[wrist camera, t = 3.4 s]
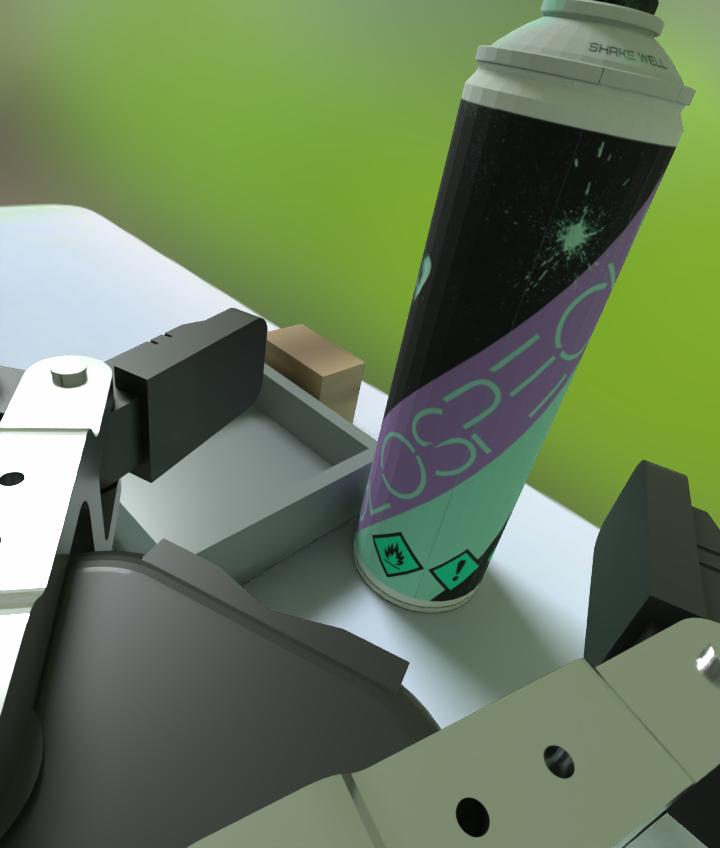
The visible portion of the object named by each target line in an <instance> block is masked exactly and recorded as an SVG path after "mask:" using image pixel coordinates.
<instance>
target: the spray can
mask: <svg viewBox="0 0 720 848" xmlns="http://www.w3.org/2000/svg"><path fill="white" fill-rule="evenodd" d="M658 4H659V3H658V0H544V1H543V4H542V7H541V12H540V13H541V14H542V15H543V16H544V17H542V18H539V19H537V20H534V21H532V22H530V23H528V24H526V25H524V26H522V27H520V28H518V29H516V30H514V31H512V32H511V33H509V34H508V35H506V36H504V37H503V38H501V39H499V40H498V41H496V42H495V43H494V44H493V45H491V46H486V45H483V46H479V47H478V50H477V55H476V58H475V60H476V61H478V69H477V71H476V72H475V73H474V74H473V75H472V76H471V77H470V78H469V79H468V80H467V81H466V82H465V85H464V90H463V94H462V98H461V102H460V106H459V110H458V114H457V118H456V122H455V127H454V131H453V135H452V139H451V143H450V147H449V151H448V155H447V159H446V163H445V167H444V172H443V176H442V180H441V184H440V188H439V192H438V196H437V200H436V204H435V208H434V213H433V217H432V221H431V225H430V229H429V233H428V237H427V241H426V246H425V249H424V254H423V258H422V262H421V266H420V270H419V274H418V278H417V282H416V287H415V290H414V295H413V299H412V303H411V307H410V311H409V315H408V319H407V323H406V327H405V332H404V336H403V340H402V344H401V348H400V353H399V357H398V361H397V364H396V368H395V373H394V377H393V381H392V385H391V389H390V393H389V397H388V401H387V405H386V409H385V414H384V418H383V422H382V426H381V430H380V434H379V438H378V442H377V446H376V450H375V455H374V459H373V463H372V467H371V471H370V475H369V479H368V483H367V487H366V491H365V496H364V500H363V504H362V508H361V512H360V516H359V520H358V524H357V528H356V533H355V539H354V545H353V556H354V562H355V564H356V567H357V569H358V572H359V573H360V575H361V576H362V578H363V579H364V581H365V582H366V583H367V584H368V585H369V586H370V587H371V588H372V589H373V590H374V591H375V592H376V593H378V594H379V595H380V596H382V597H383V598H384V599H386V600H388V601H390V602H392V603H393V604H395V605H398V606H400V607H403V608H406V609H409V610H413V611H419V612H427V613H438V612H444V611H450V610H452V609H455V608H457V607H460V606H461V605H463V604H464V603H466V602H467V601H468V600H469V599H470V598H471V597H472V596H473V594H474V593H475V592H476V590H477V587H478V586H479V584H480V582H481V580H482V578H483V575H484V573H485V571H486V569H487V567H488V564H489V562H490V560H491V558H492V555H493V553H494V551H495V549H496V547H497V544H498V542H499V540H500V538H501V535H502V533H503V531H504V529H505V527H506V524H507V522H508V520H509V518H510V515H511V513H512V511H513V509H514V507H515V504H516V502H517V500H518V498H519V495H520V493H521V491H522V489H523V487H524V484H525V482H526V480H527V477H528V475H529V473H530V471H531V469H532V466H533V464H534V462H535V460H536V457H537V455H538V453H539V451H540V449H541V446H542V444H543V442H544V440H545V438H546V435H547V433H548V431H549V429H550V426H551V424H552V422H553V420H554V417H555V415H556V413H557V411H558V409H559V406H560V404H561V402H562V400H563V398H564V395H565V393H566V391H567V389H568V386H569V384H570V382H571V380H572V378H573V375H574V373H575V371H576V369H577V366H578V364H579V362H580V360H581V358H582V355H583V353H584V351H585V349H586V346H587V344H588V342H589V340H590V338H591V335H592V333H593V331H594V329H595V326H596V324H597V322H598V320H599V317H600V315H601V313H602V311H603V309H604V306H605V304H606V302H607V300H608V297H609V295H610V293H611V291H612V289H613V286H614V284H615V282H616V279H617V278H618V275H619V273H620V271H621V269H622V266H623V264H624V262H625V260H626V257H627V255H628V253H629V251H630V249H631V246H632V244H633V242H634V240H635V237H636V235H637V233H638V231H639V229H640V226H641V224H642V222H643V220H644V218H645V215H646V213H647V211H648V209H649V206H650V204H651V202H652V200H653V198H654V195H655V193H656V191H657V188H658V186H659V184H660V182H661V180H662V178H663V175H664V173H665V171H666V168H667V166H668V164H669V162H670V160H671V157H672V155H673V153H674V151H675V149H676V146H677V144H678V142H679V140H680V137H681V135H682V133H683V126H682V121H681V111H682V109H683V108H684V107H685V105H687V106H688V105H690V103H691V101H692V99H693V97H694V94H695V92H696V91H695V90H694V89H692V88H689V87H686V86H684V84H683V80H682V79H681V77H680V75H679V73H678V71H677V70H676V68H675V66H674V64H673V62H672V61H671V59H670V58H669V56H668V55H667V54H666V52H665V51H664V49H663V48H662V47H661V46H660V45H659V43H658V42H657V41H656V40H655V39H654V37H657V36H660V34H661V32H662V29H663V26H664V22H663V21H662V20H661V19H660V18H658V17H656V16H654V14H655V12H656V9H657V7H658Z"/></svg>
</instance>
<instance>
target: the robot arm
mask: <svg viewBox="0 0 720 848" xmlns="http://www.w3.org/2000/svg"><path fill="white" fill-rule="evenodd" d="M266 341H267V324H266V321H265V320H264V319H263V318H260V317H257V316H254V315H252V314H249V313H246V312H244V311H241V310H238V309H235V308H230V309H228V310H226V311H224V312H221V313H219V314H217V315H215V316H213V317H211V318H209V319H207V320H205V321H200V322H194V323H189V324H184V325H181V326H179V327H177V328H174V329H172V330H170V331H168V332H166V333H165V335H160V336H158V337H156V338H154V339H151V341H150V342H145V343H143V344H141V345H139V346H137V347H135V348H133V349H130V350H128V351H126V352H124V353H122V354H120V355H118V356H116V357H114V358H112V359H109V360H107V361H105V362H102V361H100V360H98V359H95V358H91V357H86V356H78V355H66V356H57V357H52V358H47V359H44V360H41V361H39V362H37V363H35V364H33V365H32V366H30V367H29V368H28V369H27V370H21V369H15V368H10V367H5V366H0V848H626V847H628V846H629V845H630V844H631V843H632V842H634V841H635V840H636V839H637V838H639V837H640V836H641V835H642V834H643V833H645V832H646V831H647V830H648V829H649V828H651V827H652V826H653V825H654V824H656V823H657V822H658V821H659V820H660V819H662V818H663V817H664V816H665V815H667V814H669V815H671V816H672V817H673V818H674V819H675V820H676V821H678V822H679V823H680V824H681V825H682V826H683V827H685V828H686V829H687V830H688V831H689V832H690V833H692V834H693V835H694V836H695V837H696V838H697V839H699V840H700V841H701V842H702V843H703V844H704V845H706V846H707V847H708V848H720V530H719V528H718V527H717V525H716V524H715V523H714V521H713V520H712V518H711V517H710V515H709V514H708V513H707V512H705V511H703V510H700V509H697V508H695V507H692V506H691V498H690V491H689V484H688V478H687V476H686V475H684V474H681V473H678V472H676V471H673V470H670V469H668V468H665V467H662V466H659V465H657V464H654V463H651V462H649V461H646V460H643V461H641V462H640V463H639V464H638V465H637V467H636V468H635V470H634V472H633V473H632V475H631V477H630V478H629V480H628V482H627V484H626V485H625V487H624V488H623V490H622V492H621V494H620V495H619V497H618V499H617V501H616V502H615V504H614V506H613V507H612V509H611V511H610V512H609V514H608V516H607V518H606V519H605V521H604V523H603V525H602V527H601V529H600V532H599V534H598V537H597V540H596V544H595V548H594V555H593V565H592V576H591V586H590V597H589V607H588V617H587V628H586V638H585V648H584V658H581V659H578V660H575V661H573V662H571V663H568V664H567V665H565V666H563V667H561V668H559V669H557V670H555V671H553V672H551V673H549V674H547V675H545V676H544V677H542V678H540V679H538V680H536V681H534V682H532V683H530V684H528V685H526V686H524V687H522V688H521V689H519V690H517V691H515V692H513V693H511V694H509V695H507V696H505V697H503V698H501V699H499V700H497V701H496V702H494V703H492V704H490V705H488V706H486V707H484V708H482V709H480V710H478V711H476V712H474V713H473V714H471V715H469V716H467V717H465V718H463V719H461V720H459V721H457V722H455V723H453V724H451V725H449V726H448V727H446V728H444V729H442V730H441V728H440V727H439V725H438V724H437V723H436V721H435V720H434V719H433V717H432V716H431V715H430V713H429V712H428V711H427V709H426V708H425V707H424V706H423V705H422V704H421V703H420V702H419V700H418V699H417V698H416V697H415V696H414V695H413V694H412V693H411V692H410V691H408V690H407V689H406V688H405V687H404V686H403V685H402V684H401V683H402V681H403V678H404V676H405V673H406V671H407V668H408V665H409V663H410V662H408V661H406V660H404V659H402V658H400V657H398V656H396V655H394V654H392V653H390V652H388V651H386V650H384V649H382V648H380V647H378V646H376V645H374V644H372V643H370V642H368V641H366V640H364V639H362V638H360V637H358V636H356V635H354V634H352V633H350V632H348V631H346V630H344V629H341V628H337V627H333V626H329V625H325V624H321V623H317V622H313V621H309V620H305V619H301V618H297V617H293V616H289V615H285V614H281V613H277V612H274V611H271V610H269V609H267V608H266V607H265V606H263V605H262V604H261V603H260V602H259V601H258V600H256V599H255V598H254V597H253V596H252V595H251V594H250V593H249V592H247V591H246V590H245V589H244V588H243V587H242V586H241V585H240V584H238V583H237V582H236V581H235V580H234V579H233V578H232V577H231V576H229V575H228V574H227V573H226V572H225V571H224V570H223V569H222V568H220V567H219V566H218V565H216V564H214V563H212V562H210V561H208V560H206V559H204V558H202V557H200V556H198V555H196V554H194V553H192V552H190V551H188V550H186V549H184V548H182V547H180V546H178V545H176V544H174V543H172V542H170V541H168V540H166V539H164V538H163V539H162V540H161V541H160V542H159V543H158V544H156V545H155V546H154V547H153V548H152V549H151V550H150V551H149V552H148V553H147V554H142V553H135V552H127V551H112V546H113V540H114V533H115V527H116V521H117V515H118V509H119V502H120V496H121V478H122V477H123V476H125V475H126V474H127V473H131V474H133V475H135V476H137V477H139V478H141V479H143V480H146V481H148V482H150V483H152V482H154V481H155V480H156V479H158V478H159V477H160V476H162V475H163V474H164V473H165V472H167V471H168V470H169V469H171V468H172V467H173V466H174V465H176V464H177V463H178V462H180V461H181V460H182V459H184V458H185V457H186V456H187V455H189V454H190V453H191V452H193V451H194V450H195V449H196V448H198V447H199V446H200V445H202V444H203V443H204V442H206V441H207V440H208V439H209V438H211V437H212V436H213V435H215V434H216V433H217V432H218V431H220V430H221V429H222V428H224V427H225V426H226V425H228V424H229V423H230V422H231V421H233V420H234V419H235V418H237V417H238V416H239V415H240V414H242V413H243V412H244V411H246V410H247V409H248V408H250V407H251V406H252V405H253V403H254V402H255V401H256V399H257V397H258V395H259V393H260V390H261V387H262V382H263V373H264V362H265V352H266Z"/></svg>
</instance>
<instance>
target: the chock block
mask: <svg viewBox="0 0 720 848" xmlns="http://www.w3.org/2000/svg"><path fill="white" fill-rule="evenodd" d="M264 363H265V364H267V365H268V366H270V367H271V368H273V369H274V370H275V371H277V372H278V373H280V374H281V375H283V376H284V377H285V378H287V379H288V380H290V381H291V382H293V383H294V384H295V385H297V386H298V387H300V388H301V389H303V390H304V391H305V392H307V393H308V394H310V395H311V396H313V397H314V398H316V399H317V400H318V401H320V402H321V403H323V404H324V405H326V406H327V407H328V408H330V409H331V410H333V411H334V412H336V413H337V414H338V415H340V416H341V417H343V418H344V419H346V420H347V421H348V422H350V423H351V424H353V419H354V414H355V409H356V404H357V400H358V395H359V390H360V385H361V380H362V376H363V371H364V366H365V362H363V361H362V360H360V359H358V358H357V357H355V356H353V355H352V354H350V353H348V352H347V351H345V350H344V349H342V348H340V347H339V346H337V345H335V344H334V343H332V342H330V341H329V340H327V339H325V338H324V337H322V336H320V335H319V334H317V333H315V332H314V331H312V330H311V329H309V328H307V327H306V326H304V325H302V324H299V325H295V326H290V327H286V328H282V329H278V330H274V331H270V332H267V341H266V352H265V362H264Z"/></svg>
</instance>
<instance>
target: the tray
mask: <svg viewBox="0 0 720 848" xmlns="http://www.w3.org/2000/svg"><path fill="white" fill-rule="evenodd" d="M376 446H377V441H376V440H374V439H373V438H371V437H370V436H369V435H367V434H366V433H364V432H363V431H361V430H360V429H358V428H357V427H356V426H354V425H353V424H351V423H350V422H348V421H347V420H346V419H344V418H343V417H341V416H340V415H338V414H337V413H336V412H334V411H333V410H331V409H330V408H328V407H327V406H326V405H324V404H323V403H321V402H320V401H318V400H317V399H316V398H314V397H313V396H311V395H310V394H308V393H307V392H305V391H304V390H303V389H301V388H300V387H298V386H297V385H295V384H294V383H293V382H291V381H290V380H288V379H287V378H285V377H284V376H283V375H281V374H280V373H278V372H277V371H275V370H274V369H273V368H271V367H270V366H268V365H267V364H265V363H264V373H263V382H262V387H261V390H260V393H259V395H258V397H257V399H256V401H255V402H254V403H253V405H252V406H251V407H250V408H248V409H247V410H246V411H244V412H243V413H242V414H240V415H239V416H238V417H237V418H235V419H234V420H233V421H231V422H230V423H229V424H228V425H226V426H225V427H224V428H222V429H221V430H220V431H218V432H217V433H216V434H215V435H213V436H212V437H211V438H209V439H208V440H207V441H206V442H204V443H203V444H202V445H200V446H199V447H198V448H196V449H195V450H194V451H193V452H191V453H190V454H189V455H187V456H186V457H185V458H184V459H182V460H181V461H180V462H178V463H177V464H176V465H174V466H173V467H172V468H171V469H169V470H168V471H167V472H165V473H164V474H163V475H162V476H160V477H159V478H158V479H156V480H155V481H154V482H152V483H150V482H148V481H146V480H143V479H141V478H139V477H137V476H135V475H133V474H131V473H127V474H126V475H125V476H123V477H122V478H121V496H120V502H119V509H118V515H117V521H116V527H115V533H114V540H113V546H112V547H113V548H114V549H115V550H116V551H127V552H135V553H142V554H147V553H148V552H149V551H150V550H151V549H152V548H153V547H154V546H155V545H156V544H158V543H159V542H160V541H161V540H162V539H163V538H164V539H166V540H168V541H170V542H172V543H174V544H176V545H178V546H180V547H182V548H184V549H186V550H188V551H190V552H192V553H194V554H196V555H198V556H200V557H202V558H204V559H206V560H208V561H210V562H212V563H214V564H216V565H218V566H219V567H220V568H222V569H223V570H224V571H225V572H226V573H227V574H228V575H229V576H231V577H232V578H233V579H234V580H235V581H236V582H237V583H238V584H240V585H242V584H244V583H246V582H247V581H249V580H251V579H252V578H254V577H256V576H257V575H259V574H261V573H262V572H264V571H266V570H267V569H269V568H270V567H272V566H274V565H275V564H277V563H279V562H280V561H282V560H284V559H285V558H287V557H289V556H290V555H292V554H294V553H295V552H297V551H299V550H300V549H302V548H304V547H305V546H307V545H309V544H310V543H312V542H314V541H315V540H317V539H318V538H320V537H322V536H323V535H325V534H327V533H328V532H330V531H332V530H333V529H335V528H337V527H338V526H340V525H342V524H343V523H345V522H347V521H348V520H350V519H352V518H353V517H355V516H357V515H358V514H360V512H361V508H362V504H363V500H364V496H365V491H366V487H367V483H368V479H369V475H370V471H371V467H372V463H373V459H374V455H375V450H376Z"/></svg>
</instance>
